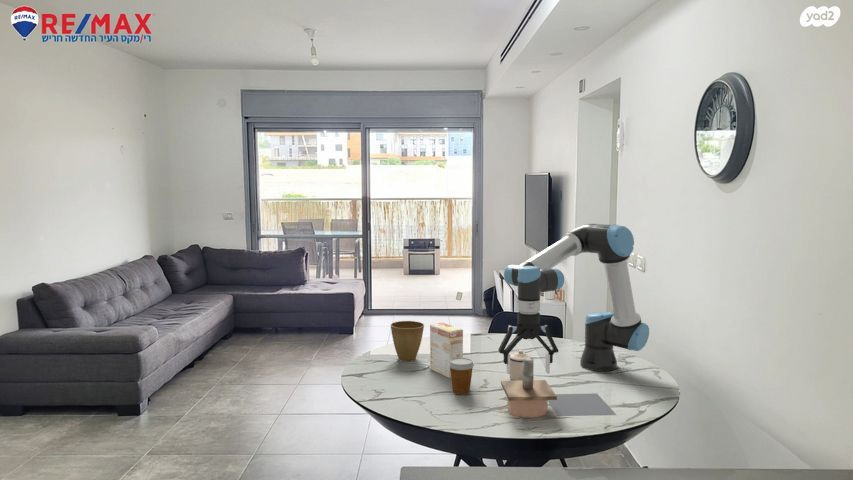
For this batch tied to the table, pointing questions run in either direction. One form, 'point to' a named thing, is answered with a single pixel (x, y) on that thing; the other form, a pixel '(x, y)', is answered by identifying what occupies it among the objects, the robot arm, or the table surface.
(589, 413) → the rubber mat
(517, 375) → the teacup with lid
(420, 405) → the table surface
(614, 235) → the robot arm
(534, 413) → the bowl
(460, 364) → the disposable coffee cup
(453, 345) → the coffeecake box
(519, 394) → the lid board
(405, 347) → the plant pot
